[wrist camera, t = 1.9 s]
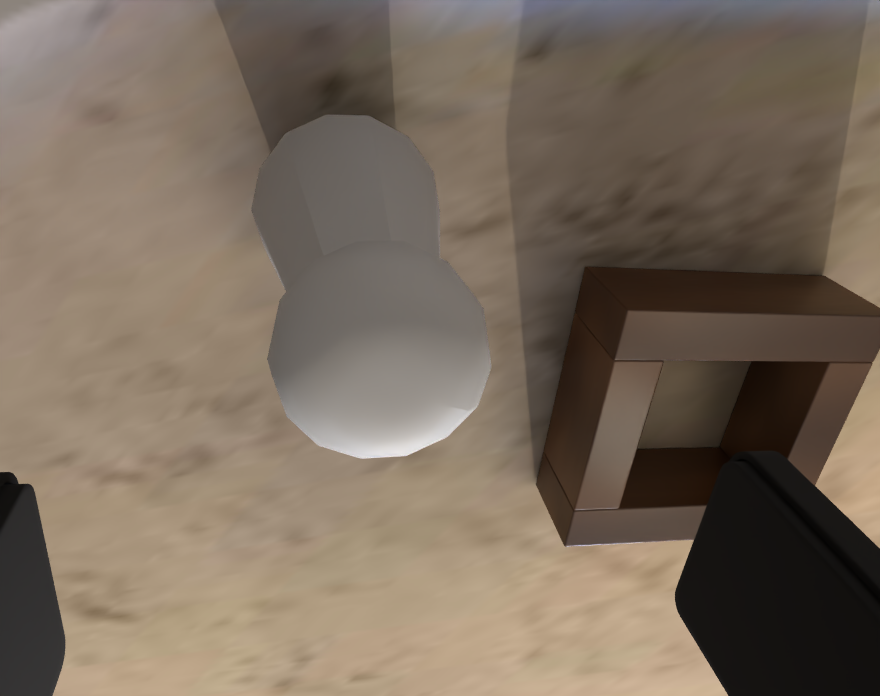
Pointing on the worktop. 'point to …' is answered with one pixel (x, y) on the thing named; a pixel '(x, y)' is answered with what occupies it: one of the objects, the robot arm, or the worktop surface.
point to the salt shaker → (366, 292)
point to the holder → (694, 339)
